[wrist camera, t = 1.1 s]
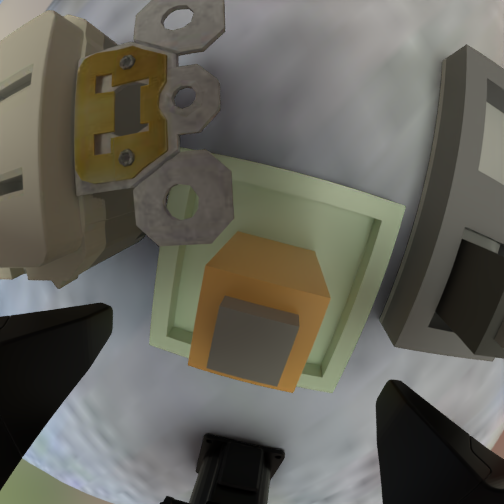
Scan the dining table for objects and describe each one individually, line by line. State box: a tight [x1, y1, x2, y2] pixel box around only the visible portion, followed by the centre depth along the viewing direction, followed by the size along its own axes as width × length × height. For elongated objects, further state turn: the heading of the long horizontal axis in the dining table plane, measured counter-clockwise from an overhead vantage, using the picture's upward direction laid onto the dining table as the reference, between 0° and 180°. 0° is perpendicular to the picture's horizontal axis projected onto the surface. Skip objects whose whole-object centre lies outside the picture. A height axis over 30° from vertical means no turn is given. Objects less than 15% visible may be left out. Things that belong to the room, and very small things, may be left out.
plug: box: [188, 231, 331, 393], centre depth 12 cm, size 4×4×7 cm
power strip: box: [379, 44, 504, 361], centre depth 12 cm, size 16×8×3 cm, turn 167°
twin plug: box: [435, 239, 504, 358], centre depth 11 cm, size 4×4×7 cm
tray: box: [149, 147, 406, 393], centre depth 15 cm, size 11×11×2 cm
